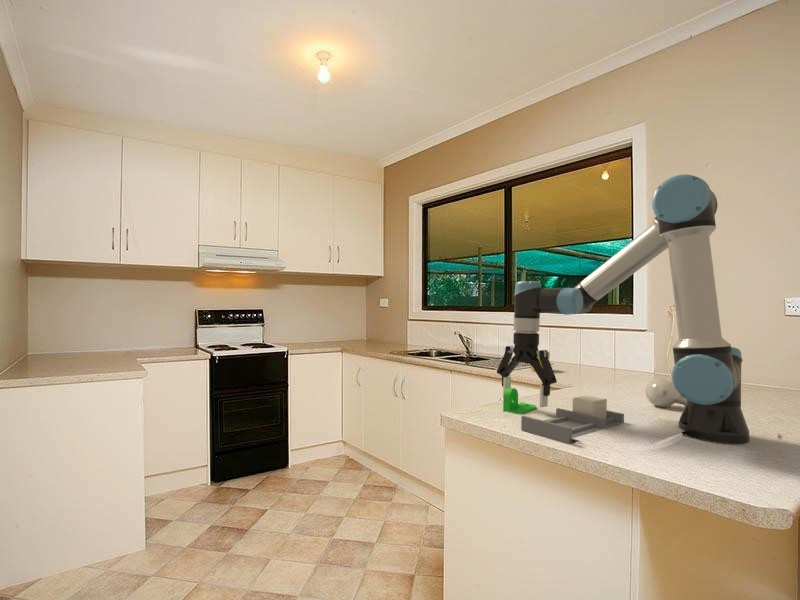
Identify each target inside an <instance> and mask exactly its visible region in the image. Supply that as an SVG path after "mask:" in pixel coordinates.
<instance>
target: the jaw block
mask: <svg viewBox="0 0 800 600" xmlns="http://www.w3.org/2000/svg"><path fill="white" fill-rule="evenodd" d="M607 399H608V398H603V397H599V396H592V395H581V396H576V397H573V398H572V411H574V412H578V413H583V414H587V415H592V416H596V417H601V418H605V419H606V417H607V407H608V406H607V402H608V401H607Z"/></svg>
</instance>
